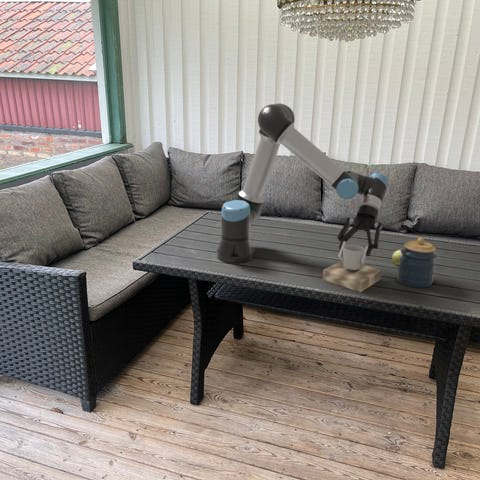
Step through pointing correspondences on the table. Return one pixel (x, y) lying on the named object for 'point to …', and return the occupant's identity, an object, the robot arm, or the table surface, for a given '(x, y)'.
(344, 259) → the cup
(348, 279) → the opening block
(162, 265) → the table surface
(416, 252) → the canister
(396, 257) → the tennis ball
